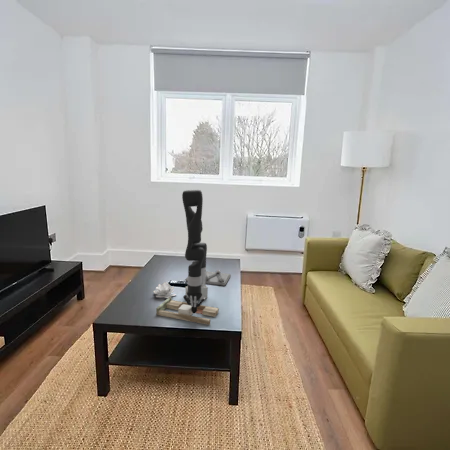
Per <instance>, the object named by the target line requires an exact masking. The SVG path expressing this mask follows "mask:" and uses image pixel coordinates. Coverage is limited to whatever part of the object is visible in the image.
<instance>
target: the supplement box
mask: <svg viewBox="0 0 450 450" xmlns="http://www.w3.org/2000/svg"><path fill="white" fill-rule="evenodd" d="M208 289H209V287H208V286H207V284H206V285H204V284H202V286H201V293H202V296H203V297H205V298H206V299H207V298H208V291H209V290H208ZM187 292H188V285H187V286H185V295H186V294H187ZM200 299H201V298H200ZM200 299H199V300H200Z"/></svg>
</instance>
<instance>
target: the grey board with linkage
mask: <svg viewBox="0 0 450 450" xmlns="http://www.w3.org/2000/svg"><path fill="white" fill-rule="evenodd" d="M231 276H232V275H231V274H230V273H225V272H221V270H220V269H217V270H216V271H214V272H213V271H207V270H206V285H214V286H221V287H222V286H223V287H224V286H226V284H227V283H228V281H229V279H230V277H231ZM185 280H186V281H185ZM184 281H185V282H188V276H187V277H186V278H185V279H184Z"/></svg>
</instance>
